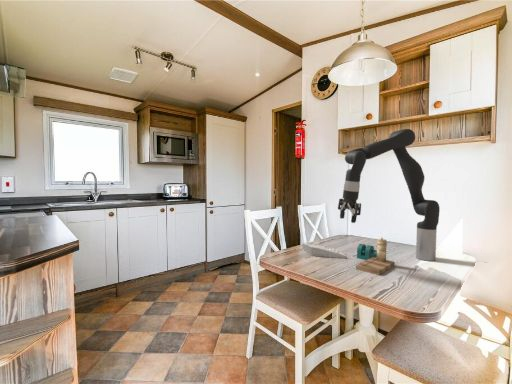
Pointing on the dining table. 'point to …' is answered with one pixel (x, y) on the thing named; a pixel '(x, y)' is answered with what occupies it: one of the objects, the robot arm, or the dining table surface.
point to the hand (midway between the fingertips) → (347, 220)
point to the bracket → (366, 252)
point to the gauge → (381, 250)
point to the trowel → (321, 251)
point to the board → (375, 266)
